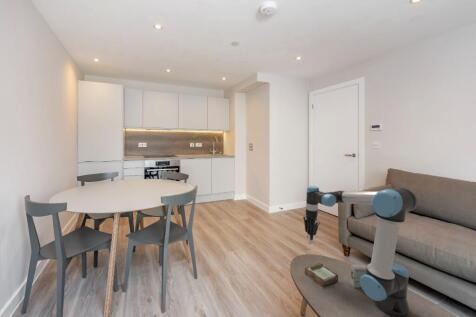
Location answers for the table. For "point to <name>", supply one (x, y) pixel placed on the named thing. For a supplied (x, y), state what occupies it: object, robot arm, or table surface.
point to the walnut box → (319, 279)
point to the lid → (322, 272)
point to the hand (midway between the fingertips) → (309, 243)
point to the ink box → (357, 274)
